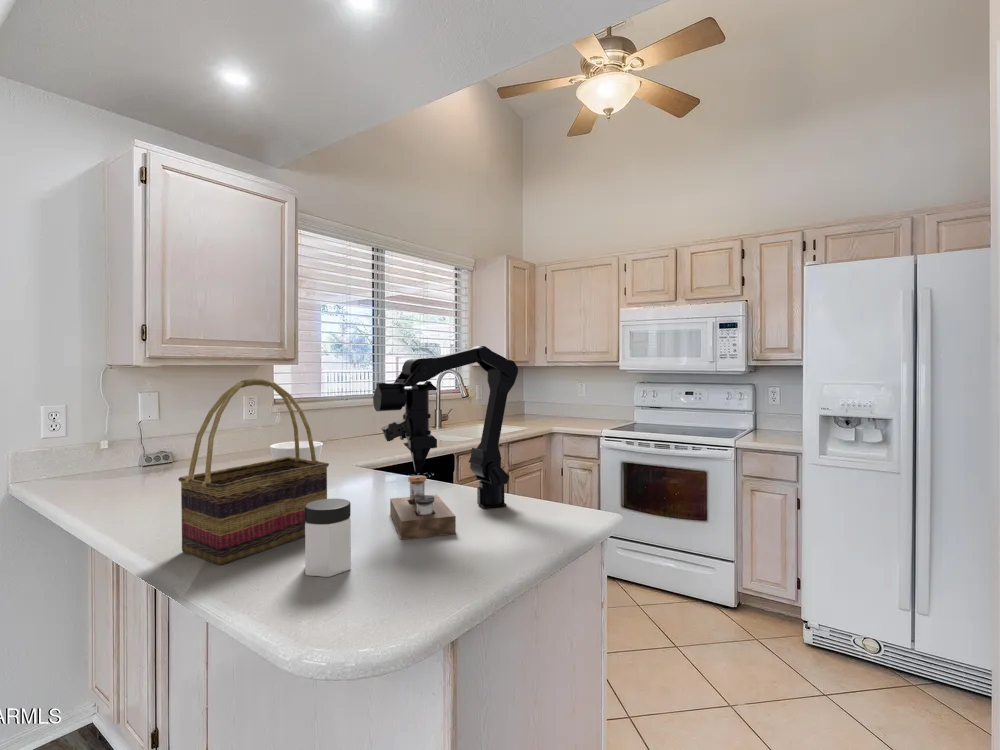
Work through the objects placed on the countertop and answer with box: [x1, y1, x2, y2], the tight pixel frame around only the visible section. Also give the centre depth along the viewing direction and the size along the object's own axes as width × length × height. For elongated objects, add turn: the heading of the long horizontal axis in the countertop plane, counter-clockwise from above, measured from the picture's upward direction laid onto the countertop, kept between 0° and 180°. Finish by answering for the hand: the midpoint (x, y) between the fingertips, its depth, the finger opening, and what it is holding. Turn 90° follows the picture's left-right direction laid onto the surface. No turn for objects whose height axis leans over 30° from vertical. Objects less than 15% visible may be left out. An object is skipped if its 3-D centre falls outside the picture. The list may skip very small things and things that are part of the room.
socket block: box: [389, 494, 457, 541], centre depth 121 cm, size 12×20×4 cm, turn 19°
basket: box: [177, 377, 330, 566], centre depth 109 cm, size 26×15×35 cm, turn 150°
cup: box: [269, 440, 324, 462], centre depth 141 cm, size 14×14×16 cm
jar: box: [304, 498, 352, 578], centre depth 94 cm, size 9×8×12 cm
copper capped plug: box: [407, 474, 427, 504], centre depth 125 cm, size 4×4×7 cm
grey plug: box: [415, 494, 434, 516], centre depth 116 cm, size 4×4×7 cm
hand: (417, 472), depth 125 cm, fingers closed
